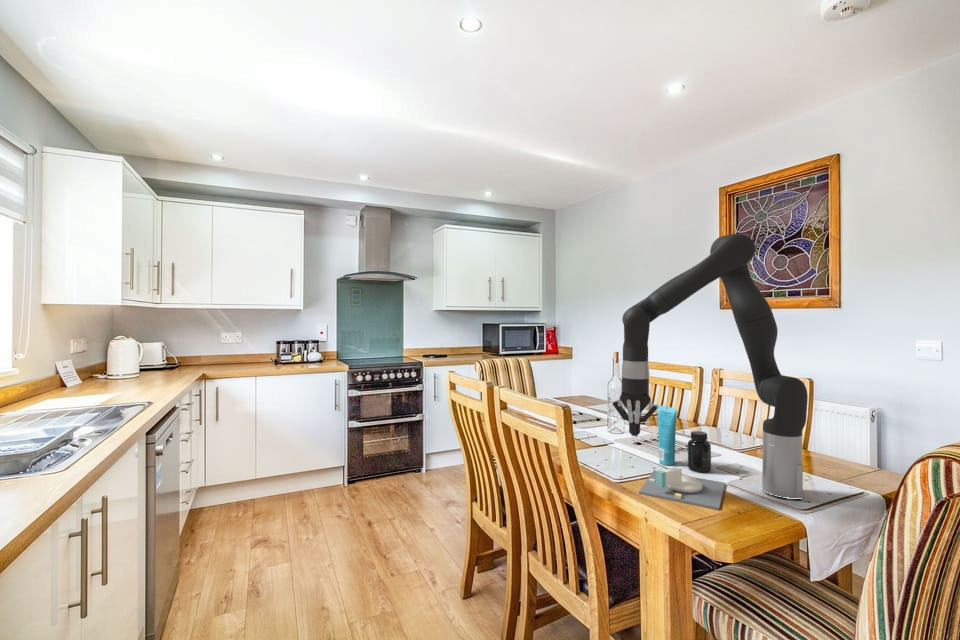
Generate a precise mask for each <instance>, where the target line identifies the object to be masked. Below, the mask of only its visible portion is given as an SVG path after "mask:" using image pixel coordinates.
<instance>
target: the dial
mask: <svg viewBox="0 0 960 640" xmlns="http://www.w3.org/2000/svg"><path fill="white" fill-rule="evenodd" d="M656 471H657V486H659V487H661V488H662V487H668V488H670V489H672V490H675V491H679V492H684V493H697V492H700V491H702V482H701V481H700V480H698V479H696V478H697V477H696V478H694V476H690V475H685V474H683V468H681V467H678V466H676V467H672V468H671V467H670V468H666V469H662V470H661V469H660V470H656Z"/></svg>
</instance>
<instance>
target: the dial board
mask: <svg viewBox="0 0 960 640" xmlns="http://www.w3.org/2000/svg"><path fill="white" fill-rule="evenodd" d="M657 471H658V470H657V469H655V470H652V472H651V474H650V475H649V476H648V478H647V480H646V481H645V482H644V484H643V485H642V486H641V488H640V489H639V491H638V494H639V495H643V494H644V496H648V495H649V496H648V497H653V496H654V497H653V498H659V499H662V500H663V499H664V500H668V501H672V500H673V502H677V501H678V502H679V503H682V504H687V505H692V506H693V505H694V506H697V507H701V508H707V509H710V510H711V509H712V510H717V511H720V507H721V503H722V499H723V495H724V491H725V490H724V489H725V485H726V482H723V481H718V480H717V481H716V480H711V479H705V478H701V477H700V478H699V477H696V476H695V477H694V476H693V477H694V478H696V479H698V480H700V481H701V482H702V491H700V492H697V493H684V492H679V491H675V490H672V489H670V488H668V487H662V488H661V487H659V486H657Z"/></svg>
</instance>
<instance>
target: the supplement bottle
mask: <svg viewBox="0 0 960 640" xmlns="http://www.w3.org/2000/svg"><path fill="white" fill-rule="evenodd" d="M687 467H688V470H690V471H691V472H695V473H701V474H702V473H703V474H704V473H705V474H706V473H710V472H711V471H712V445H711V443H710V442H709V441H708V433H707V432H705V431H699V430H695V431H691V432H690V439H689V440H688V442H687Z"/></svg>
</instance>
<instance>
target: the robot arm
mask: <svg viewBox="0 0 960 640" xmlns="http://www.w3.org/2000/svg"><path fill="white" fill-rule="evenodd" d="M755 254H756V244H755V241H754V240H753V239H752V237H750V236H748V235H747V234H743V233H730V234H726V235H721V236H719V237H717V238H716V239H715V240H714V241H713V242H712V244H711V246H710V250H709V255H708V256H707V257H705V258H704V259H703V260H701V261H700V262H698V263H697V264H696V265H693V267H691V268H689V269H687V270H685V271H683V272H681V273H679V274H678V275H677V276H674V277H673V278H671V279H669V280H668V281H666V282H665V283H663V284H662V285H661V286H659V287H657V289H655V290H653V291H652V292H651V293H650V294H649V295H648V296H647V297H645V298H644V299H641V300H640V301H639V302H637V303H636V304H634V305H633V306H631V307H629V308H627V309H626V310H625V312H624V313H623V315H622V323H623V344H622V363H621V393H620V396H619V399H617V400H615V401H613V402H612V406H613V407H614V409H615V410H616V411H617V413H618V414H619V415H620V417H621V418H622V420H624V421H627V422H628V423H629V424H628V432H629V434H630V435H631V436H632V437H638V436H639V435H640V433H641V423H645V422H647V421H648V419H650V418H651V416H652V415H653V414H654V413H655V412H656V411H658V410H657V409H658V406H657V405H658V404H655V403H653V402H652V401H651V397H650V366H649V337H650V335H649V334H650V324H651V323H652V322H653V321H655V320H656V319H657V318H659V317H661V316H662V315H665V314H667V313H668V312H670V311H671V310H673V309H675V307H677V306H678V305H680V304H681V303H683V302H685V301H686V300H687V299H688V298H691V296H693V295H694V294H695V293H697V292H699V291H700V290H702V289H703V288H704V287H706V286H707V285H710V283H712V282H714V281H716V280H717V279H721V282H722V284H723V287H724V290H725V293H726V295H727V299H728V303H729V306H730V309H731V312H732V314H733V317H734V318H733V319H734V322H735V324H736V327H737V330H738V333H739V336H740V337H741V340H742V343H743V346H744V350H745V353H746V356H747V358H748V361H749V365H750V369H751V374H752V377H753V383H754V387H755V390H756V394H757V396H758V398H759V400H760V401H761V402H763V404H766V405H768V406H770V407H774V412H773V417H772V418H768V419H765V420H763V422H762V471H761V472H762V474H761V475H762V477H761V479H762V480H761V481H762V483H761V485H762V486H761V487H762V488H763V490H765V491H766V492H768V493H771V494H773V495H777V496H781V497H789V498H803V493H804V492H803V489H804V488H803V484H804V483H803V481H804V480H803V477H804V476H803V474H804V470H803V469H804V465H803V430H804V427H805V425H806V423H807V414H808V413H807V411H808V398H809V397H808V390H807V387H806V384H805V383H804V382H803V381H802V380H801V379H799V378H797V377H793V376H790V375H789V376H788V375H783V374H781V372H780V369H779V367H778V364H777V360H776V358H775V347H776V344H777V339H778V331H779V330H778V325H777V322H776V319H775V316H774V313H773V311H772V308H771V306H770V304H769V303H768V301H767V299H766V297H765V296H764V294H763V293H762V292H761V290H760V289H759V288H758V286H757V285H756V283H755V282H754V280H753V278H752V276H751V272H750V270H749V266H748V263H750V262H751V261H752V259H753V258H754V256H755ZM623 406H624V407H625V408H624V407H623ZM646 408H647V409H648V411H647V412H646V414H644V416H643V417H642V415H643V411H644V410H645V409H646ZM626 410H627V411H626ZM763 490H762V491H763Z"/></svg>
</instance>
